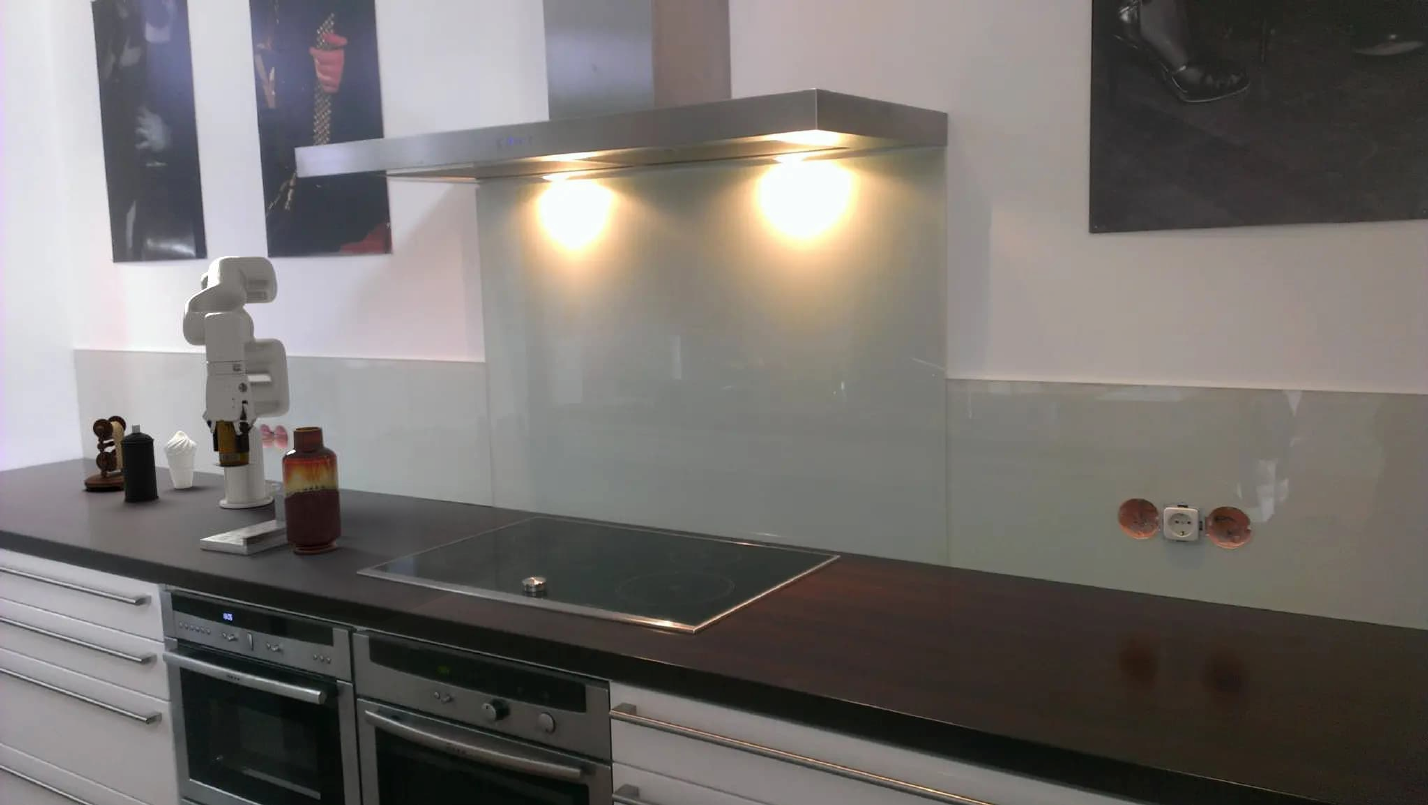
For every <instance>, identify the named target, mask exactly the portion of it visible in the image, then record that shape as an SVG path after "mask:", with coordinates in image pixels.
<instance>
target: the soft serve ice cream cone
mask: <svg viewBox="0 0 1428 805" xmlns="http://www.w3.org/2000/svg"><path fill="white" fill-rule="evenodd" d="M197 447H198V446H197V443H196V442H195V441H193V440H191V439H190V438H189V436H188V435H187V434H186V433H185V432H184V431H182V430H179V431H177V432H176V433H175V434H174V436H173V437H172V438H171V439H170V440H169V441H168V442H166V443H165V445H164V446H163V452H164V453H165V455H166V459H167V465H168V471H169V473H170V477H171V480H172V483H173V486H174V489H178V490H179V489H189V488H191V487H192V485H193V479H194V471H195V468H196V467H195V457H196V451H197V449H198V448H197Z"/></svg>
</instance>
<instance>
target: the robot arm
mask: <svg viewBox="0 0 1428 805" xmlns="http://www.w3.org/2000/svg"><path fill="white" fill-rule="evenodd" d="M200 286H201V290H202V291H200V292H198V293H196V294H195V295H193V296H192V297H190V299H188V300H187V302H186V304H185V306H184V310H183V311H184V312H183V318H182V333H183V337H184V339H185V340H186V341H187V343H188V344H190V345H192V346H198V347H201V346H203V347H205V357H206V359H205V360H206V373H207V375H206V381H205V382H206V383H205V411H204V412H203V414H202V419H203V420H204V421H205V423H206V424H207V427H208V428H209V432H210V434H212V444H213V452H215V453H219V448H218V431H217V424H218V423H219V421H220V420H224V421H227V422H233V424H234V427H235V430H236V433H237V434H238V435H235V448H236V453H244V452H249V462H252V463H256V464H258V465H252V466H245V467H243V466H242V467H232V468H223V473H224V475H223V476H224V490H225V498H223V499H221V500H219V507H221V508H225V509H248V508H254V507H255V508H256V507H259V506H265V505H268V504H271V503H272V502H273V500H274V499H273V496H271V495H270V494H271V493H272V492H277V491H279V490H280V489H281V485H280V484H279V482H278V483H277V482H275V483H272V484H269V483H266V476H265V475H266V474H265V462H264V445H263V444H264V443H263V435H262V433H261V431H260V430H259V428H257V426H256V425H254V424H255V423H256V421H257V420H258V419H266V418H280V417H284V416H286V414H288V412H289V411H290V405H291V404H290V401H291V400H290V387H289V384H290V383H289V373H288V370H289V369H288V360H287V353H286V352H287V351H286V348H285V346H284V344H283V342H282V340H279V339H277V338H272V337H271V338H270V337H269V338H268V337H266V338H264V337H263V338H255V336H254V332H255V324H254V320H253V318H252V316H251V315H250V314H249V312H247V311H246V309H245V308H244V307H245V306H246V305H247V304H248V305H249V304H251V305H252V304H269V303H273V301H274V300H275V299H277V295H278V294H277V293H278V282H277V276H276V271H275V268H274V266H273V264H272V262H271V261H270V260H269V259H267V258H266V257H263V256H223V257H219V258H217V259H215V260H214V261H213V262H212V263H211V264H210V266H209V269H208V272H206V273H204V274H203V275H202V277H201V281H200ZM256 376H257V377H258V376H259V377H261V376H266V377H268V378H269V380H257V381H255V380H252V381H251V380H250V379H249V377H256ZM240 418H242V420H240ZM241 423H242V424H243V425H242V426H240V424H241Z"/></svg>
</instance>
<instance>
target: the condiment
mask: <svg viewBox="0 0 1428 805" xmlns="http://www.w3.org/2000/svg"><path fill="white" fill-rule="evenodd" d="M240 420H242V418H240ZM242 425H243V424H242V423H241V424H240V426H242ZM217 431H218V448H219V452H218V461H219V462H216V463H212V465H214V466H215V467H220V468H223V469H224V468H232V467H242V466H243V467H245V466H252V465H258V464H256V463H252V462H249V452H244V453H236V448H235V435H238V434H237V433H236V430H235V427H234V424H233V422H227V421H224V420H220V421H219V423H218V424H217Z"/></svg>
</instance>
